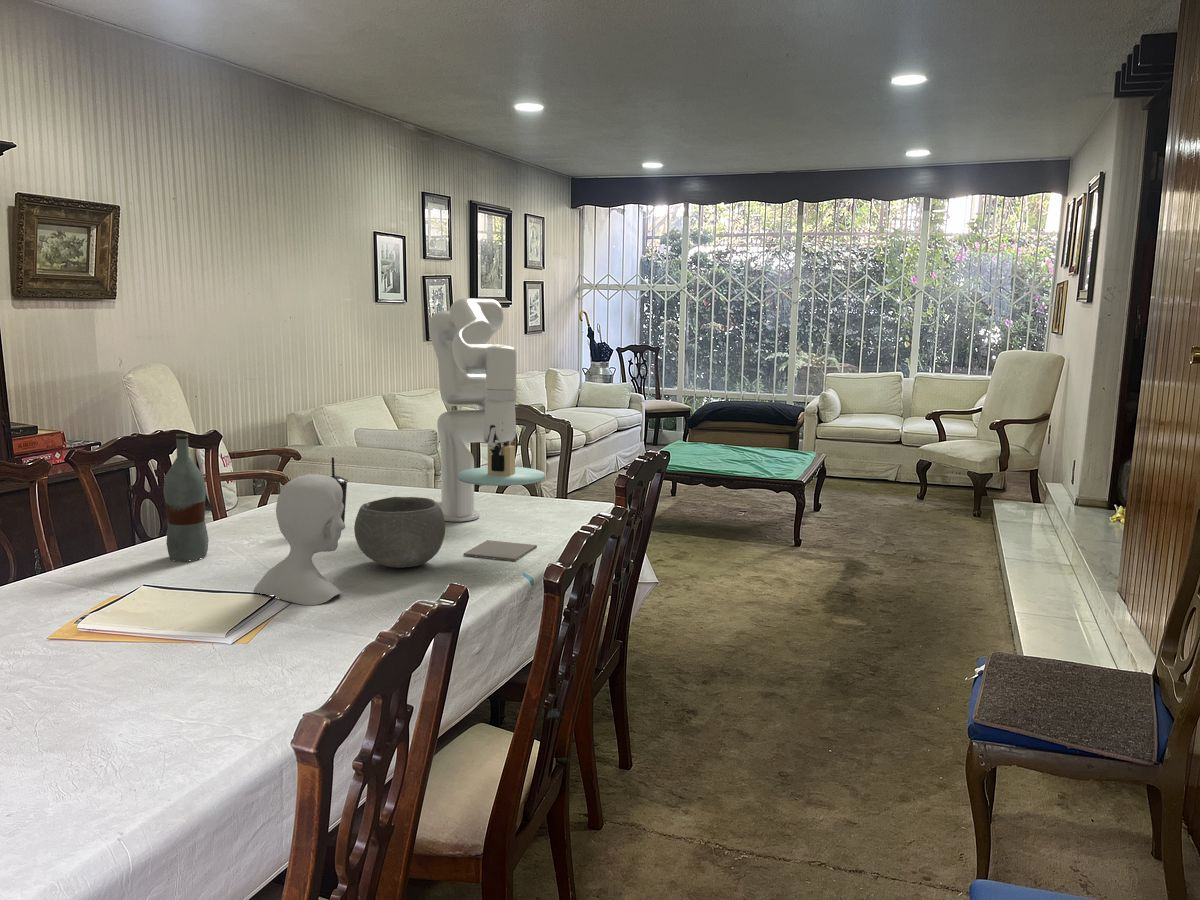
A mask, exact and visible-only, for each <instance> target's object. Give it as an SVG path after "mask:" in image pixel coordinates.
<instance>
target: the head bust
mask: <svg viewBox="0 0 1200 900" xmlns="http://www.w3.org/2000/svg"><path fill="white" fill-rule="evenodd" d="M330 476H331V475H327V474H326V475H324V474H317V473H315V474H314V473H309V474H304V475H300V476H297V477H295V478H293V479H291V480H289V481H288V482H286V483H285V485H283V487H282V488H281V491H280V492H279V494H278V497H277V500H276V507H275V515H276V520H277V523H278V528H279V531H280V533H281V534H282V536H283V537H284V538H285V540H287V542H288V544H289V548H290V551H289V553H288V555H287V556H286V557H285V558H284V559H283V560H282V561H280V562H278V563H277V564H276V565H274V566H272V567H271V568H270V569H269V570H267V571H266V573H265V574H264V575H263V576H262V578H261V579H260V580H259V582H258V583H257V585H256V586H255V587H254V589H253V591H254V592H255V593H257V594H259V593H260V594H259V595H262V594H267V595H274V596H276V597H277V598H279V599H278V600H280V599H282V600H281V601H286V602H290V603H292V604H293V603H294V604H298V605H303V606H315V605H321V604H324V603H326V602H329V601H330V600H331V599H332V598H333V597H335V596H337V595H339V594H343V593H342V591H341V590H339V588H338V587H337V586H336V585H334V584H332V583H331V582H330V581H328V579H326V577H324V576H323V575H322V574H321V572H319V570H318V569H317V568H316V566H315V563H313V556H314V554H318V553H323V552H324V553H327V552H335V551H336V550H337V549H338V547H339V540H340V538H341V536H342V531H343V530H344V529H345V528H346V524H345V522H344V523H343V520H342V518H341V515H342V512H343V509H344V504H343V503H342V499H343V491H342V488H341V486H340V484H339V483H338V482H337V481H336V480H335V479H334V478H332V477H330Z"/></svg>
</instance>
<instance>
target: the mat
mask: <svg viewBox="0 0 1200 900" xmlns="http://www.w3.org/2000/svg"><path fill="white" fill-rule="evenodd" d="M537 547H538V545H537V544H528V543H518V542H508V541H502V540H501V541H500V540H499V541H498V540H491V539H490V540H489V539H487V540H485V541H483V542H482V543H480V544H478V545H476V546H475V547H472V548H471V549H469V550H467V551H465V552H464V553H463V556H464V555H466V556H465V557H470V556H477V557H476V558H480V557H487V558H486V559H489V558H495V559H494V560H499V559H504V560H503V561H508V560H514V561H513V562H517V561H518V560H520V559H521V558H523V557H524V555H525V554H526V555H528V554H529V553H531V552H533V551H534V550H535V549H537ZM533 549H534V550H533ZM530 551H531V552H530ZM528 552H529V553H528ZM527 553H528V554H527ZM526 555H525V556H526ZM522 556H523V557H522ZM519 558H520V559H519ZM516 560H517V561H516Z"/></svg>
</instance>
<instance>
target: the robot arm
mask: <svg viewBox="0 0 1200 900" xmlns="http://www.w3.org/2000/svg"><path fill="white" fill-rule="evenodd" d="M503 323H504V311H503V308H502V305H501V304H500V303H499V301H497V300H496V299H494V298H493V299H492V298H474V297H473V298H472V297H471V298H470V297H469V298H460V299H457V300H455V301H454V302H453V303H452V304H451V306H450V308H449V310H443V311H438V312H435V313H433V315H431V317H430V318H429V323H428V324H429V325H428V332H429V338H430V342H431V344H432V346H433V347H432V348H433V349H434V352H435V354H436V358H437V369H438V380H439V381H438V382H439V392H440V398H441V402H443V404H444V405H446V406H455V407H457V406H459V407H460V406H462V407H463V406H465V407H466V406H476V407H477V408H478V409H456V410H448V411H444V412H443V413H441V414H440V415H439V416H438V418H437V421H436V422H437V423H436V425H437V426H436V427H437V435H438V438H439V439H438V440H439V445H440V447H439V448H440V449H439V450H440V486H441V488H440V490H441V495H440V497H441V499H440V500H441V501H435V502H436V503H437V504H438V505H439V506H440V508H441V510H442V512H443V515H444V520H445V522H451V523H453V522H454V523H455V522H456V523H458V522H462V523H463V522H469V521H470V522H471V521H474V520H477V519H479V518H480V512H479V511H477V510H475V484H469V483H465V482H462V481H460V480H458V473H459V472H461V471H464V470H468V469H474V468H475V459H474V456H473V454H472V452H471V451H470V449H469V448H467V446H466V444H471V443H487V448H488V447H489V448H490V450H491V467H492V471H501V472H502V471H504V455H503V445H508V446H513V441H514V439H515V438H516V435H517V434H516V432H517V421H516V419H517V418H516V417H517V416H516V415H517V414H516V404H515V403H517V351H516V348H515V347H514V346H510V345H507V344H502V343H498V344H497V343H496V344H495V343H492V344H491V343H489V341H490V340H491V338H492V337H493V335H495V334H496V333H497V332H498V331H499V329H500V328H502V326H503ZM496 441H497V442H496ZM496 445H499V447H498V446H496Z"/></svg>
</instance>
